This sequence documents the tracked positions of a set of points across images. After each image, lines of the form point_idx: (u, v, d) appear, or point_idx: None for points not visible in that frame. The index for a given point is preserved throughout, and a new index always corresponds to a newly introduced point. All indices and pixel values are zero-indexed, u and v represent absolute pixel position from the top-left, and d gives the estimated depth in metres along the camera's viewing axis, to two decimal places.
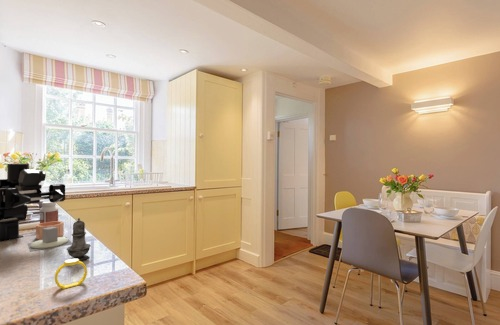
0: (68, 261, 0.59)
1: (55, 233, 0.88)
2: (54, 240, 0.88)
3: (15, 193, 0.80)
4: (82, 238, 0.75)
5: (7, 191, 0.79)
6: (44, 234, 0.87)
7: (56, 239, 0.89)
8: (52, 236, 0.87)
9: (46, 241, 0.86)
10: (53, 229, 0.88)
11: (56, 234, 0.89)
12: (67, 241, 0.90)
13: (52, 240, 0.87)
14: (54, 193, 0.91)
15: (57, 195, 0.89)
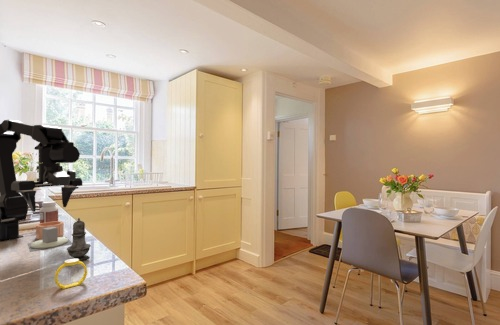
0: (68, 261, 0.59)
1: (55, 233, 0.88)
2: (54, 240, 0.88)
3: (30, 196, 0.82)
4: (82, 238, 0.75)
5: (25, 193, 0.80)
6: (44, 234, 0.87)
7: (56, 239, 0.89)
8: (52, 236, 0.87)
9: (46, 241, 0.86)
10: (53, 229, 0.88)
11: (56, 234, 0.89)
12: (67, 241, 0.90)
13: (52, 240, 0.87)
14: (66, 190, 0.92)
15: (64, 198, 0.92)
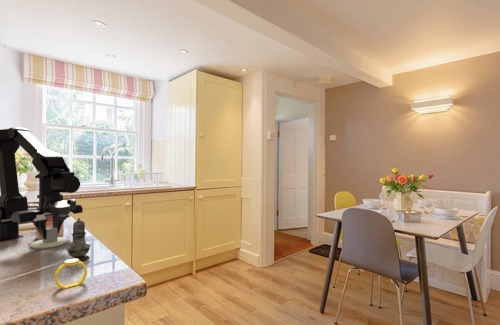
0: (68, 261, 0.59)
1: (55, 233, 0.88)
2: (54, 240, 0.88)
3: (41, 225, 0.85)
4: (82, 238, 0.75)
5: None
6: None
7: (56, 239, 0.89)
8: (52, 236, 0.87)
9: (46, 241, 0.86)
10: (53, 229, 0.88)
11: (56, 234, 0.89)
12: (67, 241, 0.90)
13: (52, 240, 0.87)
14: (57, 219, 0.90)
15: None
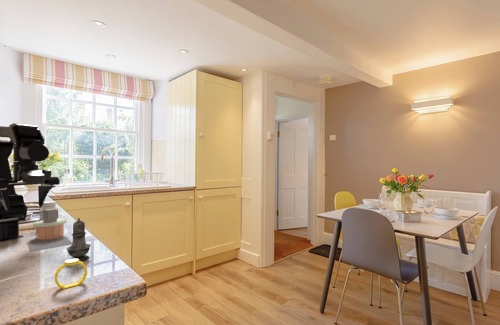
0: (68, 261, 0.59)
1: (55, 214, 0.97)
2: (54, 220, 0.97)
3: (3, 194, 0.81)
4: (82, 238, 0.75)
5: None
6: (45, 215, 0.96)
7: (55, 219, 0.97)
8: (52, 217, 0.96)
9: (46, 221, 0.95)
10: (53, 210, 0.97)
11: (55, 215, 0.97)
12: (65, 222, 0.99)
13: (52, 220, 0.96)
14: (42, 189, 0.92)
15: (40, 197, 0.92)
